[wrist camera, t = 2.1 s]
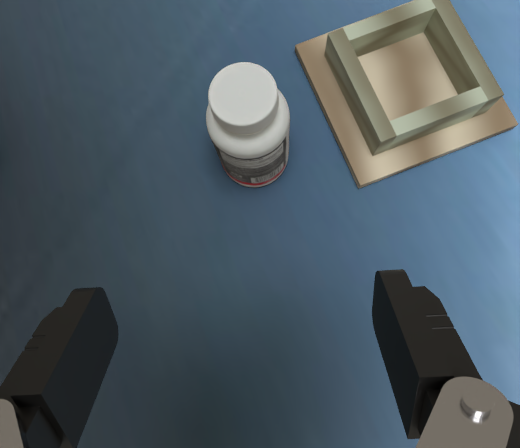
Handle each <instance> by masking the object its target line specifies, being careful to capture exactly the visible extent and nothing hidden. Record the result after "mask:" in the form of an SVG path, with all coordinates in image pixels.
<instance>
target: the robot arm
mask: <svg viewBox="0 0 520 448" xmlns="http://www.w3.org/2000/svg"><path fill="white" fill-rule="evenodd" d="M372 318H373V326H374V331H375V334H376V337H377V341H378V344H379V347H380V350H381V354H382V357H383V360H384V363H385V367H386V370H387V373H388V376H389V380H390V383H391V386H392V390H393V393H394V396H395V399H396V403H397V406H398V409H399V412H400V416H401V419H402V422H403V425H404V429H405V432H406V435H407V438H408V439H419V438H420V439H419V441H418V444H417V446H416V448H520V405H518V404H515V403H513V402H510V401H508V400H507V399H506V397H505V396H504V395H503V394H502V393H501V392H500V391H499V390H498V389H496V388H495V387H494V386H492V385H491V384H489V383H487V382H485V381H483V380H482V378H481V376H480V375H479V373H478V371H477V369H476V367H475V365H474V363H473V362H472V360H471V358H470V356H469V354H468V352H467V350H466V348H465V346H464V345H463V343H462V341H461V339H460V337H459V335H458V333H457V331H456V330H455V329H454V326H453V324H452V322H451V320H450V318H449V317H447V313H446V311H445V309H444V307H443V305H442V303H441V301H440V299H439V298H438V297H437V296H435V295H434V294H433V293H432V292H431V291H430V290H428V289H427V288H426V287H425V286H422V287H412V285H411V282H410V280H409V278H408V276H407V274H406V272H405V271H404V270H403V269H401V270H384V271H377V272H376V274H375V283H374V295H373V306H372ZM32 336H33V338H32V339H30V340H29V342H28V343H27V345H26V347H25V351H22V353H21V355H20V356H19V358H18V359H17V361H16V363H15V364H14V366H13V367H12V369H11V371H10V372H9V374H8V375H7V377H6V379H5V380H4V382H3V383H2V385H1V386H0V448H77V445H78V443H79V440H80V437H81V435H82V432H83V430H84V427H85V425H86V422H87V419H88V417H89V414H90V412H91V409H92V407H93V404H94V401H95V399H96V396H97V394H98V391H99V389H100V386H101V383H102V381H103V378H104V376H105V373H106V371H107V368H108V365H109V363H110V360H111V358H112V355H113V353H114V350H115V347H116V345H117V341H118V325H117V322H116V319H115V317H114V314H113V311H112V309H111V306H110V303H109V301H108V298H107V296H106V293H105V291H104V289H103V288H101V287H96V288H80V289H74V290H73V291H72V292H71V293H70V295H69V297H68V299H67V300H66V302H65V304H64V305H63V307H57V308H55V309H54V310H53V311H52V312H51V313H50V314H49V315H48V316H47V317H45V318H44V319H43V320H42V321H41V323H40V324H39V326H38V327H37V329H36V331H35V332H34V334H33V335H32Z"/></svg>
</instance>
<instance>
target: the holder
mask: <svg viewBox="0 0 520 448" xmlns="http://www.w3.org/2000/svg"><path fill="white" fill-rule="evenodd" d="M295 52H296V55H297V57H298V59H299V61H300V63H301V65H302V68H303V70H304V72H305V74H306V76H307V78H308V81H309V83H310V85H311V87H312V89H313V91H314V94H315V96H316V98H317V100H318V102H319V104H320V107H321V109H322V111H323V113H324V115H325V117H326V120H327V122H328V124H329V126H330V128H331V130H332V133H333V135H334V137H335V139H336V141H337V143H338V145H339V148H340V150H341V152H342V154H343V156H344V158H345V161H346V163H347V165H348V167H349V169H350V171H351V174H352V176H353V178H354V180H355V182H356V184H357V187H358V189H359V188H362V187H364V186H367V185H370V184H372V183H375V182H377V181H380V180H382V179H385V178H388V177H390V176H393V175H395V174H398V173H400V172H403V171H406V170H408V169H411V168H413V167H416V166H418V165H421V164H424V163H426V162H429V161H431V160H434V159H436V158H439V157H442V156H444V155H447V154H449V153H452V152H454V151H457V150H460V149H462V148H465V147H467V146H470V145H472V144H475V143H478V142H480V141H483V140H485V139H488V138H490V137H493V136H496V135H498V134H501V133H503V132H506V131H508V130H511V129H513V128H514V127H516V126H517V125H518V123H517V121H516V120H515V118H514V116H513V114H512V113H511V111H510V109H509V107H508V106H507V104H506V102H505V101H504V99H503V97H502V96H503V95H504V93H503V92H502V90H501V88H500V87H499V85H498V83H497V81H496V80H495V78H494V76H493V74H492V73H491V71H490V69H489V68H488V66H487V64H486V62H485V61H484V59H483V57H482V56H481V54H480V52H479V50H478V49H477V47H476V45H475V43H474V42H473V40H472V38H471V37H470V35H469V33H468V31H467V30H466V28H465V26H464V24H463V23H462V21H461V19H460V18H459V16H458V14H457V12H456V11H455V9H454V7H453V6H452V4H451V2H450V0H414V1H411V2H408V3H406V4H403V5H401V6H398V7H395V8H393V9H390V10H387V11H385V12H382V13H379V14H377V15H374V16H371V17H369V18H366V19H363V20H361V21H358V22H355V23H353V24H350V25H347V26H345V27H342V28H340V29H337V30H334V31H332V32H329V33H326V34H324V35H321V36H318V37H316V38H313V39H310V40H308V41H305V42H302V43H300V44H297V45H295Z"/></svg>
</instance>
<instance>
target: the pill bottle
mask: <svg viewBox="0 0 520 448" xmlns="http://www.w3.org/2000/svg"><path fill="white" fill-rule="evenodd" d="M208 99H209V105H208V107H207V112H206V124H207V129H208V132H209V135H210V138H211V140H212V142H213V144H214V147H215V149H216V151H217V154H218V156H219V158H220V161H221V163H222V166H223V168H224V170H225V171H226V173H227V174H228V176H229V177H230V178H231V179H233V180H234V181H235V182H237V183H239V184H241V185H243V186H247V187H262V186H265V185H268V184H270V183H272V182H273V181H275V180H276V179H277V178H278V177H279V176H280V175H281V174H282V173H283V171H284V169H285V167H286V165H287V161H288V154H289V127H290V114H289V108H288V105H287V102H286V100H285V98H284V96H283V95H282V93H281V92H280V91H279V90H278V89H277V85H276V82H275V80H274V78H273V77H272V75H271V74H270V73H269V72H268V71H267V70H266V69H264V68H263V67H261V66H259V65H257V64H254V63H249V62H240V63H235V64H231V65H229V66H227V67H225V68H223V69H222V70H221V71H220V72H218V73H217V75H216V76H215V77H214V79H213V80H212V82H211V84H210V88H209V93H208Z"/></svg>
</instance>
